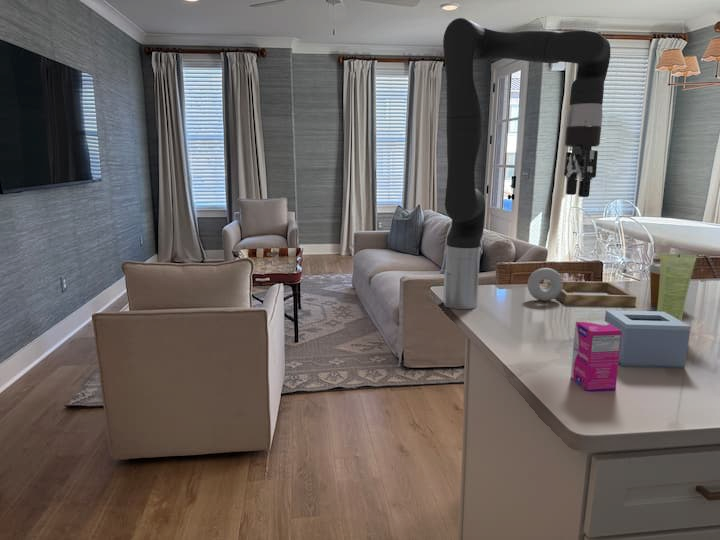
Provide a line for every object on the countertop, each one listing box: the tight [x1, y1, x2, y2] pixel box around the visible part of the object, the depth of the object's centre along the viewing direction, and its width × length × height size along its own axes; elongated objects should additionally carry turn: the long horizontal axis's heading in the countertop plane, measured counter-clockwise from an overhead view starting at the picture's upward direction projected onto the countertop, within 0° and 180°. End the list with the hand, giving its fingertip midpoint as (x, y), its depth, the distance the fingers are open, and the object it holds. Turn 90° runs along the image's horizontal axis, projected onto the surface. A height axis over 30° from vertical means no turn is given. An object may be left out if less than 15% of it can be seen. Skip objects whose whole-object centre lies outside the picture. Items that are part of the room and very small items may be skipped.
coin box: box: [604, 309, 692, 369], centre depth 105 cm, size 12×10×9 cm
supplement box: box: [570, 320, 622, 392], centre depth 92 cm, size 6×6×12 cm
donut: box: [527, 267, 564, 302], centre depth 150 cm, size 10×3×10 cm, turn 84°
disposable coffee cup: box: [648, 262, 660, 308], centre depth 145 cm, size 10×10×12 cm
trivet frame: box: [546, 280, 637, 307], centre depth 155 cm, size 19×18×3 cm
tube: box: [656, 252, 698, 322], centre depth 120 cm, size 6×5×20 cm
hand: (577, 195), depth 122 cm, fingers open, 8 cm apart
